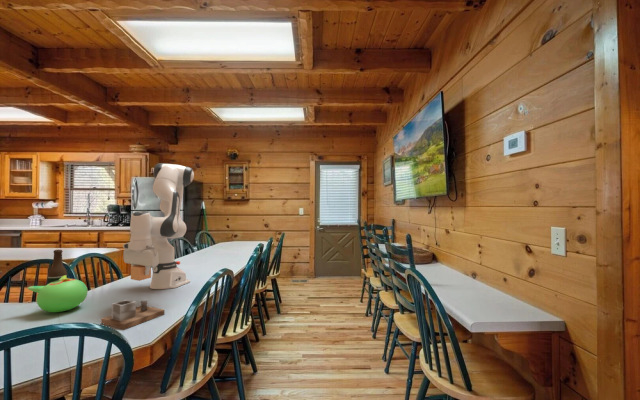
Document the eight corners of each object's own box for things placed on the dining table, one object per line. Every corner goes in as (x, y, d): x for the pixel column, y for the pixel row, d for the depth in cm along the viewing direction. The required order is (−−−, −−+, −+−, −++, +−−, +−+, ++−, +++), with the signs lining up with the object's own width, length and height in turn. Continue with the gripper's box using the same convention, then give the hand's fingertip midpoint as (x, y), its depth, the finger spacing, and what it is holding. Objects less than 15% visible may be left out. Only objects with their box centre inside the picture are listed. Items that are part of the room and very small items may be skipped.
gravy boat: (56, 319, 128) (57, 283, 128) (24, 315, 132) (24, 281, 132) (95, 305, 146) (96, 274, 146) (66, 302, 149) (67, 272, 149)
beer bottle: (44, 300, 152) (45, 251, 153) (50, 295, 159) (51, 249, 160) (63, 298, 155) (64, 250, 156) (69, 294, 163) (70, 248, 163)
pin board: (142, 309, 141) (142, 292, 141) (164, 314, 136) (164, 296, 136) (101, 323, 125) (101, 303, 125) (124, 329, 119) (124, 308, 119)
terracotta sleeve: (142, 276, 152) (142, 264, 152) (150, 277, 150) (150, 265, 150) (130, 279, 147) (130, 266, 147) (139, 280, 144) (139, 267, 144)
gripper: (162, 245, 147) (162, 274, 147) (133, 242, 155) (133, 270, 155) (150, 247, 141) (150, 278, 141) (120, 244, 149) (120, 273, 149)
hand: (141, 273), depth 148 cm, fingers closed on terracotta sleeve, 6 cm apart
